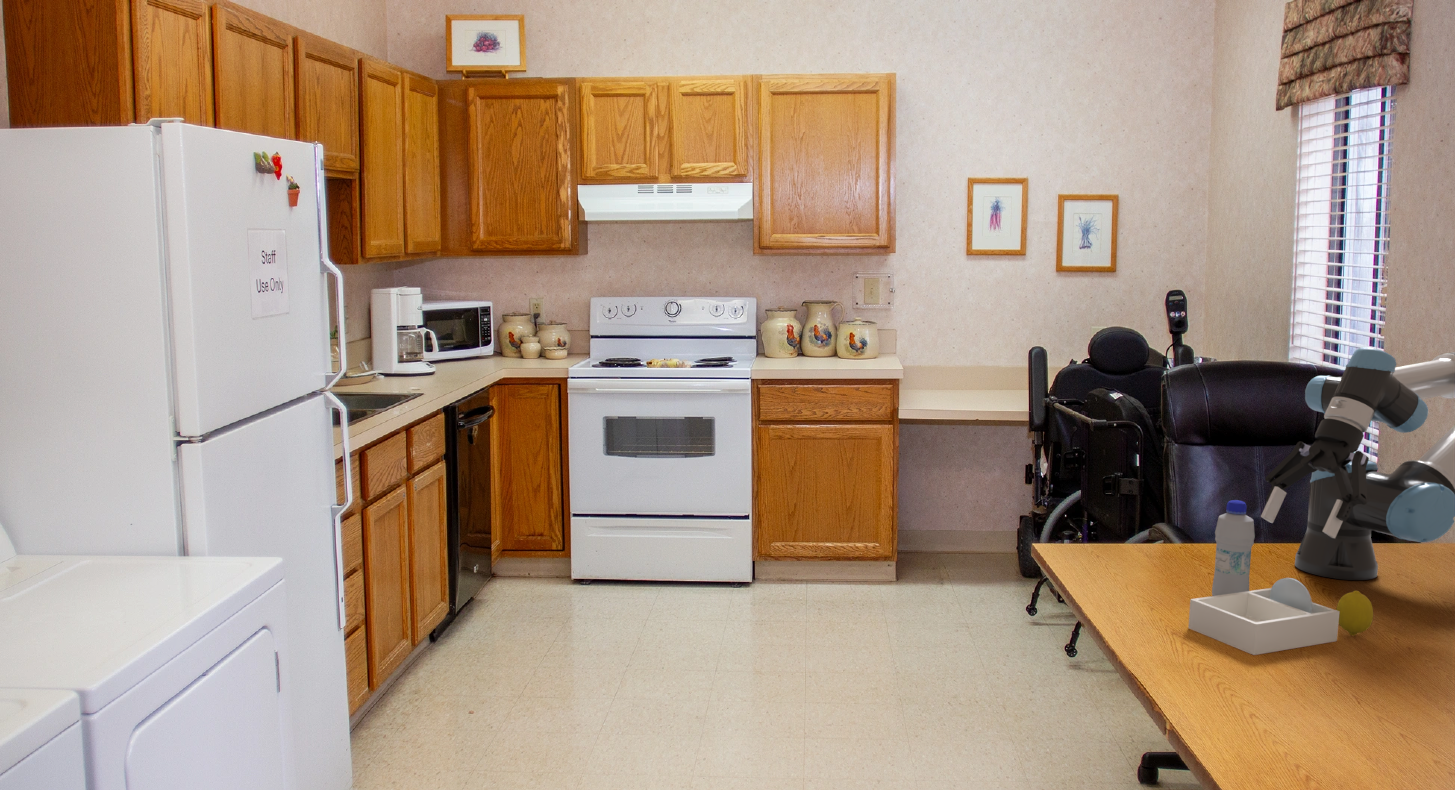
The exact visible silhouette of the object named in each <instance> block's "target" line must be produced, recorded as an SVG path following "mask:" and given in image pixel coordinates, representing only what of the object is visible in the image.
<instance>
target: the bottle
mask: <svg viewBox="0 0 1455 790" xmlns="http://www.w3.org/2000/svg"><path fill="white" fill-rule="evenodd" d="M1247 508H1248V507H1247V503H1246V502H1245V501H1243V500H1238V499H1233V500H1229V501H1228V502H1227V503H1226V509H1225V511H1226V513H1223V514H1220V515H1218V518H1217V522H1216V527H1215V531H1214V535H1215V538H1214V541H1215V542H1216V547H1215V560H1214V561H1215V562H1214V574H1213V581H1212V585H1211V586H1212V587H1211V589H1212V590H1211V595H1212V596H1217V595H1225V594H1232V593H1239V592H1246V591H1250V574H1251V573H1250V570H1251V557H1252V548H1253V546H1254V545H1255V544H1254V543H1255V542H1254V540H1255V536H1256V534H1255V524H1254V523H1255V522H1254V519H1253V518H1252V517H1250V516H1248V515H1247Z"/></svg>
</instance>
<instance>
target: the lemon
mask: <svg viewBox="0 0 1455 790" xmlns="http://www.w3.org/2000/svg"><path fill="white" fill-rule="evenodd" d="M1335 610H1337V611H1340V612H1339V623H1338V626H1340V627H1341V629H1343V630H1344V631H1346V632H1347V633H1348V634H1349V635H1350V636H1352V637H1355V636H1356V635H1358V634H1359V633H1364V632H1365V631H1367V630H1368V629H1369V628H1370V627H1371V625H1372V622H1373V619H1374V609H1373V605H1372V601H1370V599H1369V598H1368V597H1367V596H1366V595H1365V594H1362V593H1361V592H1360V591H1359V590H1353V591H1352V592H1348V593H1345V594H1343V595H1342V596H1341V597H1340V599H1339V600H1338V603H1337V605H1336V609H1335Z"/></svg>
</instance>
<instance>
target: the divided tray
mask: <svg viewBox="0 0 1455 790" xmlns="http://www.w3.org/2000/svg"><path fill="white" fill-rule="evenodd" d="M1339 612H1340V611H1337V610H1336V609H1333V608H1331V607H1328V606H1325V605H1322V604H1319V603H1316V602H1313V601H1312V597H1311V595H1310V591H1309V590H1308V589H1307V587H1306V586H1305V585H1304V584H1303V583H1302V582H1301V581H1299V580H1298V579H1296V578H1292V577H1285V578H1280V579H1278V580H1276V581H1275V582H1274V584H1273V585H1272V586H1271V587H1270V588H1269V587H1267V588H1262V589H1255V590H1249V591H1246V592H1239V593H1232V594H1225V595H1217V596H1204V597H1197V598H1191V599H1190V601H1189V613H1188V614H1189V615H1188V629H1190V630H1191V631H1194V632H1197V633H1199V634H1202V635H1204V636H1206V637H1209V638H1211V639H1214V640H1216V641H1219V642H1221V643H1224V644H1225V645H1228V646H1230V647H1233V648H1236V649H1238V650H1240V651H1243V652H1245V653H1247V654H1250V655H1253V656H1257V655H1263V654H1268V653H1275V652H1279V651H1284V650H1285V651H1286V650H1292V649H1296V648H1297V649H1299V648H1303V647H1310V646H1315V645H1321V644H1328V643H1333V642H1337V641H1338V631H1339Z"/></svg>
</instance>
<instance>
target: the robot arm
mask: <svg viewBox="0 0 1455 790" xmlns="http://www.w3.org/2000/svg"><path fill="white" fill-rule="evenodd" d="M1396 366H1397V361H1396V358H1395V357H1394V356H1393V355H1392V354H1390V353H1388V352H1387V351H1384V350H1381V349H1379V348H1374V347H1360V348H1357V349H1356V350H1355V351H1354V352H1353V354H1352V356H1351V357H1350V359H1349V361H1348V362H1347V364H1346V365H1345V369H1344V371H1343V373H1342V376H1333V375H1317V376H1315V377H1313V378H1311V379H1310V381H1308V383H1307V385H1306V388H1305V390H1304V393H1305V394H1304V399H1305V400H1304V401H1305V403H1306V405H1307V407H1308V408H1310V409H1311V410H1313V411H1316V412H1320V413H1323V414H1324V415H1323V418H1324V419H1322V420H1321V421H1320V423H1319V424H1318V427H1317V430H1316V431H1315V434H1314V442H1313V443H1312V445H1309V444H1306V443H1304V442H1303V441H1298V442H1296V445H1295V446H1294V448H1293V449H1292V450H1291V452H1289V454H1287V456H1286V457H1285V458H1284V459H1282V461H1281V462H1280V463H1279V464H1278V465H1276V467H1274V469H1273V470H1271V471H1270V472H1269V473H1268V474H1267V475H1266V476H1265V479H1264V480H1265V482H1267V483H1268V484H1270V485H1271V487H1270V490H1269V492H1268V494H1267V496H1266V499H1265V502H1266V504H1265V506H1264V508H1263V511H1262V513H1261V515H1260V517H1261V518H1262V519H1264V520H1265V521H1266V522H1268V523H1271V524H1273V523H1274V522H1275V519H1276V517H1277V515H1278V513H1279V511H1280V509H1281V506H1282V504H1283V502H1284V499H1285V498H1286V496H1287V494H1288V492H1286V489H1287V488H1289V487H1291V486H1292V485H1295V483H1297V482H1298V481H1300V480H1301V479H1303V478H1304V477H1306V476H1308V475H1309V474H1310V473H1311V478H1310V480H1309V498H1308V512H1307V514H1308V515H1307V527H1306V531H1305V534H1304V536H1303V538H1302V540H1301V542H1300V544H1299V547H1298V549H1297V552H1296V553H1295V559H1294V566H1295V567H1296V568H1297V569H1298V570H1300V571H1302V572H1306V573H1308V574H1310V575H1311V574H1312V575H1315V576H1319V577H1323V578H1329V579H1336V580H1345V581H1346V580H1347V581H1365V580H1366V581H1367V580H1372V579H1375V578H1377V576H1378V572H1379V571H1378V570H1379V564H1378V562H1377V559H1376V554H1375V551H1374V546H1373V541H1372V538H1371V537H1372V531H1374V532H1377V533H1382V534H1386V535H1389V536H1393V537H1396V538H1398V539H1400V540H1406V541H1410V542H1411V541H1413V542H1418V543H1429V542H1434V541H1435V540H1438V539H1439V538H1441V537H1443V536H1444V535H1445V534H1447V533H1448V532H1449V530H1451V528H1452V527H1453V525H1454V524H1455V519H1454V518H1455V424H1454V425H1453V426H1452V427H1451V428H1450V429H1449V430H1447V432H1446V433H1445V434H1444V435H1442V436H1441V438H1439V440H1437V441H1436V442H1435V443H1434V444H1433V445H1432V446H1431V447H1430V448H1429V449H1427V451H1425V452H1424V454H1423V455H1421V457H1419V458H1418V460H1417V459H1409V460H1407V461H1404V462H1402V463H1401V464H1400V465H1399V466H1397V468H1395V470H1394V471H1393V472H1391V473H1384V472H1380V471H1379V467H1378V464H1377V463H1376V462H1374V461H1369V459H1370V458H1369V456H1367V455H1366V454H1364V453H1363V452H1362V451H1361V450H1359V447H1360V445H1361V444H1362V441H1363V438H1364V437H1365V435H1364V433H1367V430H1368V429H1369V426H1370V425H1371V424H1370V423H1371V422H1377V423H1382V424H1385V425H1386V426H1387V427H1389V428H1390V429H1393V430H1394V431H1396V432H1398V433H1404V434H1405V433H1407V434H1408V433H1411V432H1414V431H1416V430H1418V429H1420V428H1422V426H1423V425H1424V423H1425V422H1426V421H1427V418H1428V415H1429V407H1428V405H1427V403H1426V402H1425V401H1424V400H1425V399H1431V398H1436V397H1442V398H1444V399H1455V351H1453V352H1446V353H1442V354H1439V355H1437V356H1435V357H1434V358H1433V359H1432V360H1431V361H1430V360H1429V361H1424V362H1419V363H1418V362H1417V363H1413V364H1406V365H1403V366H1397V367H1396Z"/></svg>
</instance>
